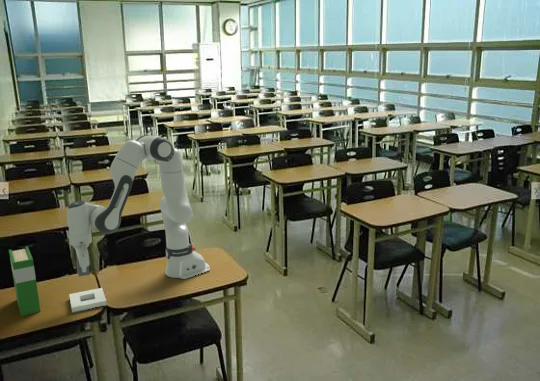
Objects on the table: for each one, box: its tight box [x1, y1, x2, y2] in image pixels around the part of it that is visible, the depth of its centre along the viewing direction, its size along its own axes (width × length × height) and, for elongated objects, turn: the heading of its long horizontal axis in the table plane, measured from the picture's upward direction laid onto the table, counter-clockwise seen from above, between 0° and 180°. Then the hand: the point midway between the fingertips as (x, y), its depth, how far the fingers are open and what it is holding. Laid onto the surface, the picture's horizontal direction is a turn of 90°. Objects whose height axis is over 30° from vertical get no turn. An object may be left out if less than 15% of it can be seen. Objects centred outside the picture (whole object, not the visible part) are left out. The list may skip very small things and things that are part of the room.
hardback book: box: [8, 245, 41, 317], centre depth 202 cm, size 18×7×24 cm, turn 33°
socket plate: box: [68, 287, 108, 314], centre depth 207 cm, size 14×14×2 cm
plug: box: [76, 259, 91, 277], centre depth 203 cm, size 4×5×7 cm
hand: (83, 269), depth 203 cm, fingers closed on plug, 4 cm apart
